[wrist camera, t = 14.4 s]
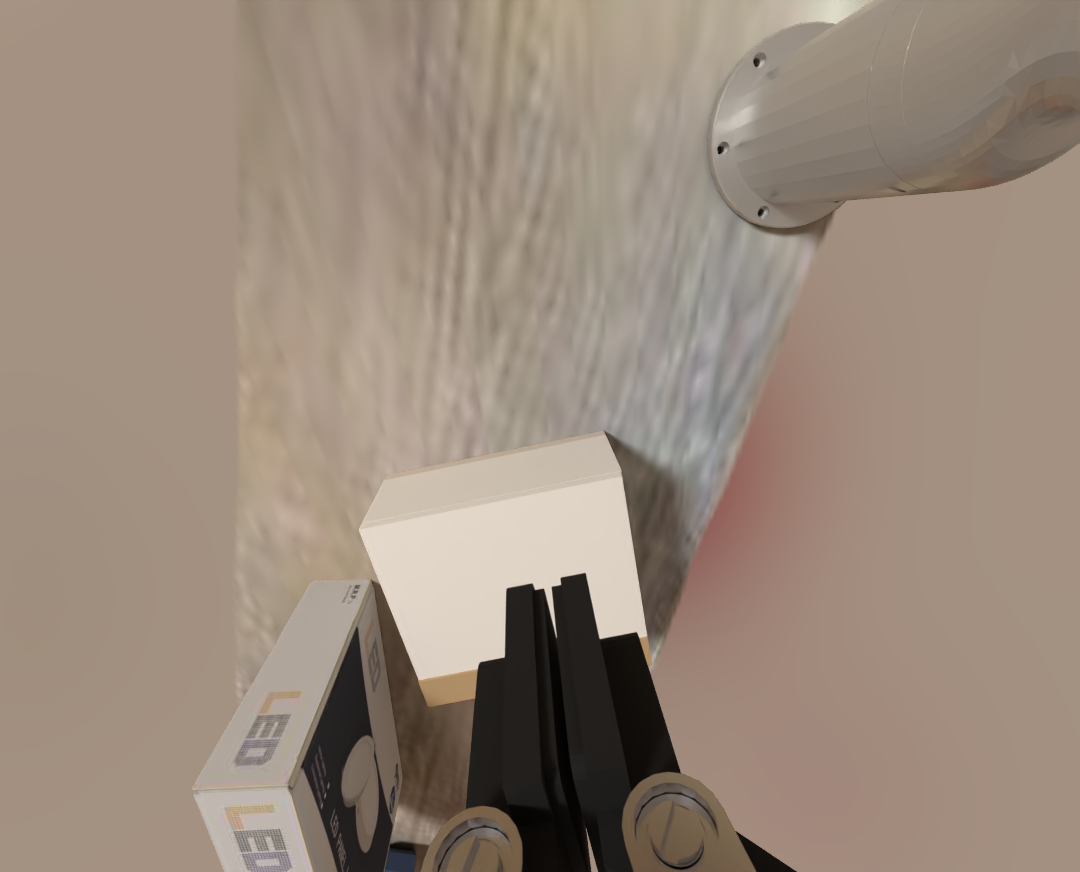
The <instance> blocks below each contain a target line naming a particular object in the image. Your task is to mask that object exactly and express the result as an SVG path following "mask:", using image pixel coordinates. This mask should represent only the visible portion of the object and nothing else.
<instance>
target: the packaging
mask: <svg viewBox="0 0 1080 872" xmlns="http://www.w3.org/2000/svg"><path fill="white" fill-rule="evenodd" d="M402 779H403V775H402V768H401V762H400V755H399V749H398V742H397V736H396V729H395V722H394V716H393V709H392V703H391V696H390V690H389V683H388V677H387V670H386V664H385V657H384V651H383V644H382V638H381V631H380V624H379V618H378V611H377V605H376V598H375V592H374V587H373V585H372V580H371V579H367V580H332V581H311V582H310V584H309V586H308V587H307V589H306V591H305V593H304V594H303V596H302V598H301V600H300V601H299V603H298V605H297V606H296V608H295V610H294V612H293V613H292V615H291V617H290V619H289V620H288V622H287V624H286V626H285V627H284V629H283V631H282V633H281V634H280V637H279V638H278V640H277V642H276V643H275V645H274V647H273V649H272V650H271V652H270V654H269V656H268V657H267V659H266V661H265V663H264V664H263V666H262V668H261V670H260V671H259V673H258V675H257V677H256V678H255V680H254V682H253V683H252V685H251V687H250V689H249V690H248V692H247V693H246V695H245V697H244V699H243V700H242V702H241V704H240V705H239V707H238V709H237V711H236V712H235V714H234V716H233V718H232V719H231V721H230V723H229V725H228V726H227V728H226V730H225V732H224V733H223V735H222V737H221V739H220V740H219V742H218V744H217V745H216V747H215V749H214V751H213V752H212V754H211V756H210V758H209V759H208V761H207V763H206V765H205V766H204V768H203V770H202V772H201V774H200V775H199V777H198V779H197V780H196V782H195V784H194V786H193V787H192V790H193V791H194V793H193V795H194V797H195V800H196V802H197V805H198V807H199V810H200V812H201V814H202V817H203V820H204V822H205V824H206V827H207V829H208V832H209V834H210V837H211V839H212V842H213V844H214V847H215V849H216V852H217V854H218V857H219V859H220V862H221V864H222V867H223V869H224V872H384V871H385V866H386V861H387V856H388V851H389V846H390V841H391V836H392V831H393V826H394V821H395V816H396V811H397V806H398V801H399V796H400V791H401V786H402V781H403V780H402Z"/></svg>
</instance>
